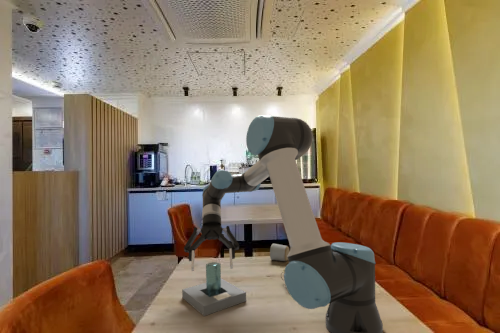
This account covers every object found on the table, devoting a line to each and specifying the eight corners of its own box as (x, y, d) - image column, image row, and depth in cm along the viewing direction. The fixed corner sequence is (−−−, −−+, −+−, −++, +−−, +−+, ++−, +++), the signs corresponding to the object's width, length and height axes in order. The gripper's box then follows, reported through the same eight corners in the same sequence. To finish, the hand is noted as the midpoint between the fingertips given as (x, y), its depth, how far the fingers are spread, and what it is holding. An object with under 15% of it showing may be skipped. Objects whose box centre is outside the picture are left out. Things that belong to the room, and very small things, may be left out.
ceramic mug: (286, 263, 138) (286, 246, 138) (269, 261, 141) (269, 245, 141) (291, 257, 148) (291, 241, 148) (276, 255, 151) (276, 240, 151)
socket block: (246, 301, 100) (246, 291, 100) (203, 316, 91) (203, 305, 91) (221, 286, 113) (221, 278, 113) (182, 297, 104) (182, 289, 104)
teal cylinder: (223, 299, 102) (223, 265, 102) (211, 304, 99) (210, 268, 99) (216, 294, 106) (215, 261, 106) (204, 298, 103) (203, 264, 103)
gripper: (242, 222, 124) (246, 270, 109) (181, 224, 121) (177, 274, 106) (243, 211, 118) (247, 260, 103) (179, 213, 115) (174, 264, 101)
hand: (212, 268), depth 105 cm, fingers open, 13 cm apart
